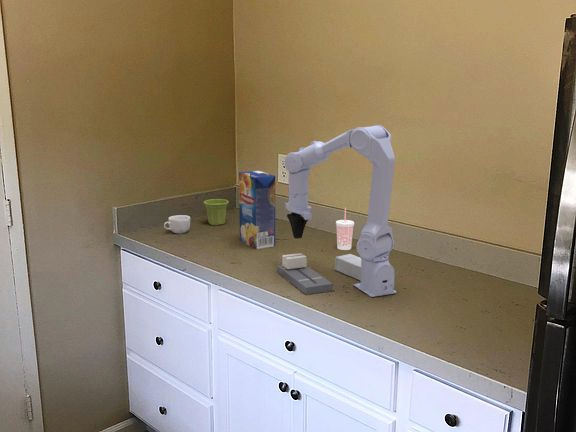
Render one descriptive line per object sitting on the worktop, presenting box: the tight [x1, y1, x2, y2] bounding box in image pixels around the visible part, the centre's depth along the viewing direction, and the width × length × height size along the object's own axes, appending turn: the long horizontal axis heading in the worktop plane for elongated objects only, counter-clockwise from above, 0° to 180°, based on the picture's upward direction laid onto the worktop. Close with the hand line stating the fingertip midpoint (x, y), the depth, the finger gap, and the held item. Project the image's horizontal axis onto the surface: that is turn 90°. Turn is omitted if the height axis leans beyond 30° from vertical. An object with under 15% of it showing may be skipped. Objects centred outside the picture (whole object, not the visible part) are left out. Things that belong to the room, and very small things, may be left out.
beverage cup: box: [335, 206, 355, 251], centre depth 202 cm, size 6×6×14 cm
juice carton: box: [238, 170, 276, 250], centre depth 205 cm, size 12×8×24 cm, turn 31°
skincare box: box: [334, 253, 361, 282], centre depth 178 cm, size 6×4×12 cm
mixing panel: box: [276, 264, 334, 295], centre depth 172 cm, size 20×8×2 cm, turn 23°
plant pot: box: [203, 198, 229, 226], centre depth 233 cm, size 9×9×9 cm
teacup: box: [163, 214, 191, 235], centre depth 221 cm, size 10×8×5 cm
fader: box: [281, 252, 308, 269], centre depth 177 cm, size 4×6×3 cm, turn 113°
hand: (297, 237), depth 181 cm, fingers closed
